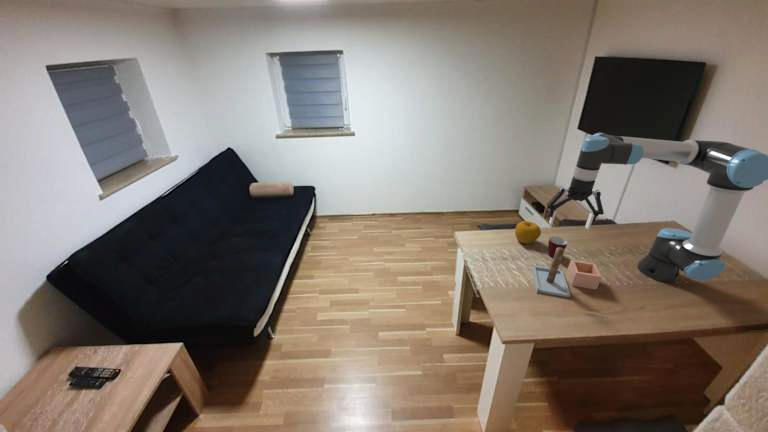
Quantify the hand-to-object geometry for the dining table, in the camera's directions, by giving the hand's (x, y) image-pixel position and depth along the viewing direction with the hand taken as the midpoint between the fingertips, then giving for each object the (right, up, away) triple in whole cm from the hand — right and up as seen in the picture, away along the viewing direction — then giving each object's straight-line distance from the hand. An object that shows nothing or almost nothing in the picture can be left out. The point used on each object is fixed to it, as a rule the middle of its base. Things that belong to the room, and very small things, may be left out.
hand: (568, 225), depth 125 cm
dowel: (0, -26, +14) cm, 30 cm away
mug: (+12, -18, +31) cm, 38 cm away
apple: (+3, -10, +46) cm, 47 cm away
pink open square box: (+15, -27, +15) cm, 34 cm away
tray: (0, -27, +14) cm, 31 cm away
